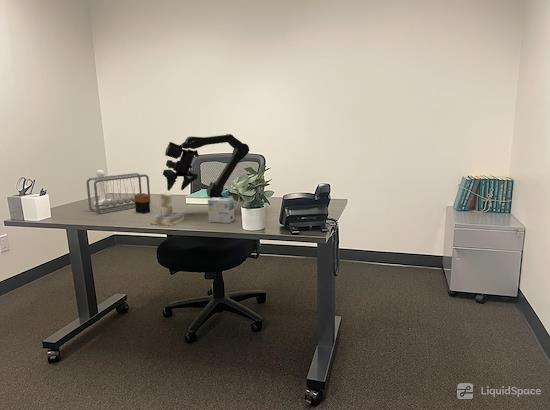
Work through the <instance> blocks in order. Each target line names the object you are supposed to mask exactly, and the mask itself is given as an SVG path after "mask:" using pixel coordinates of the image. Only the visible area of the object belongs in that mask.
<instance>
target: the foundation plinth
mask: <svg viewBox="0 0 550 410" xmlns="http://www.w3.org/2000/svg"><path fill="white" fill-rule="evenodd" d="M172 213H173V216H167V217H162V216H161V213H159V214H156V215H154V216H152V217H149V223H150V225H154V224H157V226H168V225H170V227H171V226H174V225H177V224H178V223H180V222H182V221H185V219H184V217H185V216H184V213H177V212H172Z"/></svg>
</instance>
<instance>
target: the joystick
mask: <svg viewBox="0 0 550 410" xmlns="http://www.w3.org/2000/svg"><path fill="white" fill-rule="evenodd" d="M105 173H106V172H105V171H104V170H103V169H97V171H96V172H95V175H96V176H97V177H105ZM98 180H100V179H98ZM103 185H104V187H103ZM104 191H105V192H104ZM98 192H99V193H98V194H99V196H98V197H99V199H98V205H99V206H101V205H102V206H104V205H103V201H104V200H106V198H105V196H106V186H105V181H102V182H98ZM111 199H112V198H107V200H109V201H110V200H111ZM93 207H96V200H95V201H93Z"/></svg>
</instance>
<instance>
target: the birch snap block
mask: <svg viewBox="0 0 550 410" xmlns="http://www.w3.org/2000/svg"><path fill="white" fill-rule="evenodd" d="M172 200H173V199H172V194H171V192H167V193H160V194H159V206H160V214H161V216H162V217H167V216H173V213H174V212H173V201H172Z"/></svg>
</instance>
